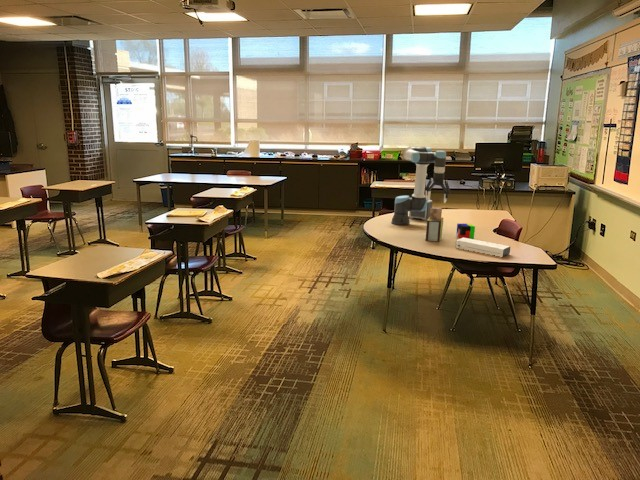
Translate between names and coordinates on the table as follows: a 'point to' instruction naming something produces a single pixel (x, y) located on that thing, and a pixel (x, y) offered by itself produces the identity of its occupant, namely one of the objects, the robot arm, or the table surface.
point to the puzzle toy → (465, 231)
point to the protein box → (434, 230)
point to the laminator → (482, 247)
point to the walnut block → (435, 213)
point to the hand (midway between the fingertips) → (436, 201)
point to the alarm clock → (421, 212)
